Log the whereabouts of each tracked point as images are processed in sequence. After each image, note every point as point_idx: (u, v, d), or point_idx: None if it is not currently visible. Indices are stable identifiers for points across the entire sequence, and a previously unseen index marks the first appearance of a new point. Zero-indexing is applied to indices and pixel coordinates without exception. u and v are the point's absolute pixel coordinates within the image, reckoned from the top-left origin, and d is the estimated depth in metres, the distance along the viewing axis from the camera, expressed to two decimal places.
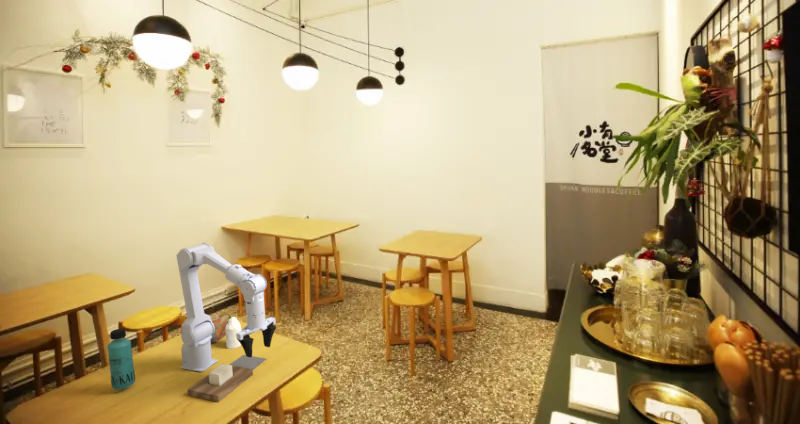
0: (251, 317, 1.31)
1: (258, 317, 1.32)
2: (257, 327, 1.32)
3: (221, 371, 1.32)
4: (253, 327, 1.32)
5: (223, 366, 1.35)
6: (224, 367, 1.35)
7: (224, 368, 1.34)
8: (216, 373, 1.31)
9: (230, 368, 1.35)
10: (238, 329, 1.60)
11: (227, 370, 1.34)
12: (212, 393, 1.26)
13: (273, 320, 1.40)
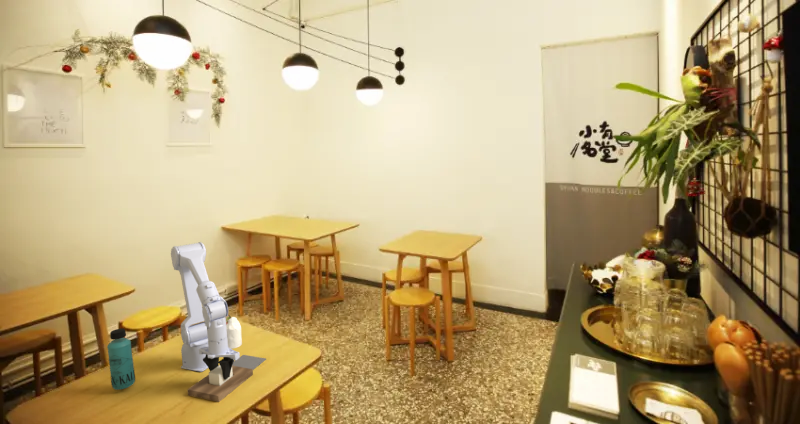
0: None
1: (208, 343, 1.30)
2: (209, 352, 1.31)
3: (221, 371, 1.32)
4: None
5: None
6: None
7: None
8: (216, 373, 1.31)
9: None
10: (238, 329, 1.60)
11: None
12: (212, 393, 1.26)
13: (232, 356, 1.30)
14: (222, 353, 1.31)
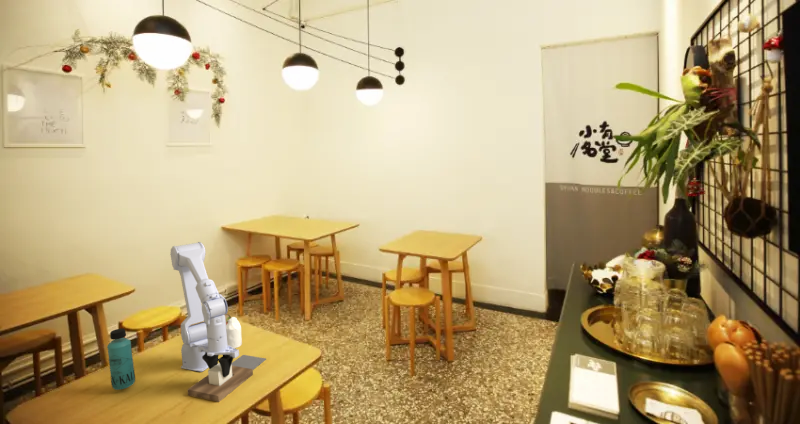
0: None
1: (208, 340, 1.30)
2: (208, 349, 1.31)
3: (220, 368, 1.32)
4: None
5: None
6: None
7: None
8: (215, 370, 1.31)
9: None
10: (238, 329, 1.60)
11: None
12: (212, 393, 1.26)
13: (231, 353, 1.30)
14: (221, 351, 1.30)
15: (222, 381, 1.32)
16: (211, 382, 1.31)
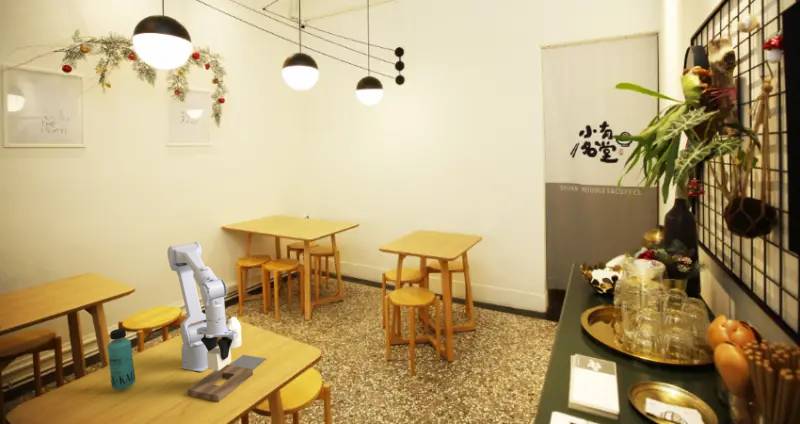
0: None
1: (207, 322, 1.29)
2: (207, 331, 1.30)
3: (219, 351, 1.31)
4: None
5: None
6: None
7: None
8: (214, 353, 1.30)
9: None
10: (238, 329, 1.60)
11: None
12: (212, 393, 1.26)
13: (230, 336, 1.29)
14: (220, 333, 1.30)
15: (221, 364, 1.31)
16: (210, 365, 1.31)
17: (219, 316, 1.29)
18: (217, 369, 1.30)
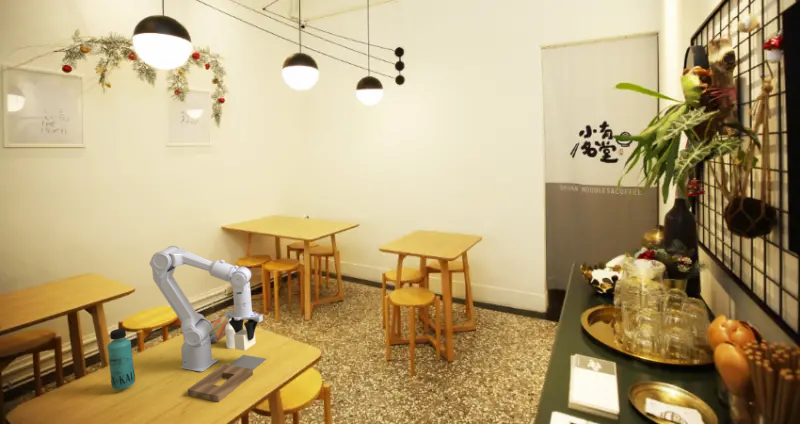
0: None
1: (235, 306, 1.43)
2: (235, 314, 1.43)
3: (245, 333, 1.44)
4: None
5: None
6: None
7: None
8: (241, 334, 1.43)
9: None
10: None
11: None
12: (212, 393, 1.26)
13: (256, 318, 1.42)
14: (247, 316, 1.43)
15: (247, 344, 1.44)
16: (237, 345, 1.44)
17: (250, 298, 1.45)
18: (243, 349, 1.43)
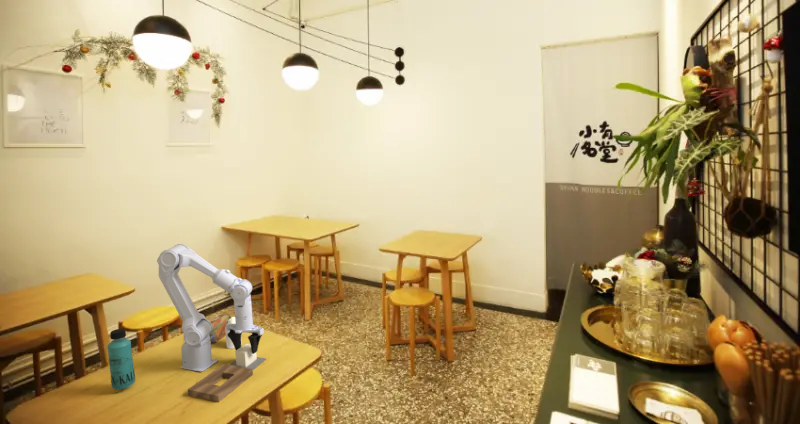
0: None
1: (236, 319, 1.43)
2: (236, 327, 1.44)
3: (246, 349, 1.45)
4: None
5: (248, 345, 1.48)
6: (249, 346, 1.48)
7: (248, 347, 1.47)
8: (242, 351, 1.44)
9: None
10: None
11: None
12: (212, 393, 1.26)
13: (257, 331, 1.43)
14: (248, 329, 1.44)
15: (248, 361, 1.45)
16: (238, 362, 1.45)
17: (251, 311, 1.45)
18: (245, 366, 1.44)
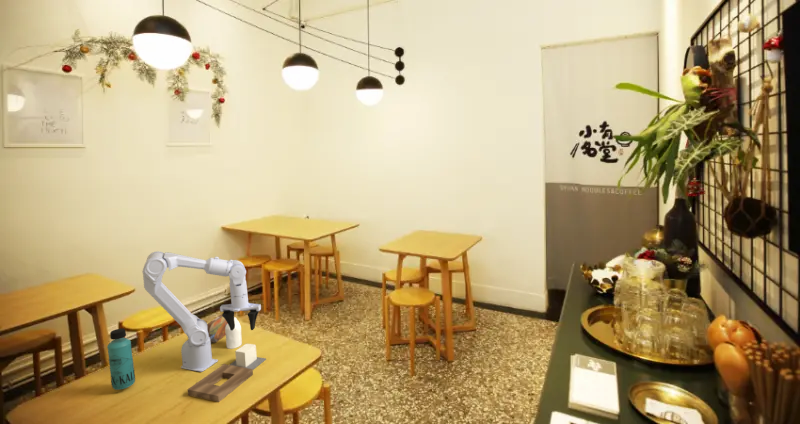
0: None
1: (233, 298, 1.47)
2: (233, 307, 1.48)
3: (246, 349, 1.45)
4: (231, 305, 1.49)
5: (248, 345, 1.48)
6: (249, 346, 1.48)
7: (248, 347, 1.47)
8: (242, 351, 1.44)
9: (254, 347, 1.48)
10: (238, 329, 1.60)
11: (251, 348, 1.47)
12: (212, 393, 1.26)
13: (255, 307, 1.49)
14: (245, 306, 1.49)
15: (248, 361, 1.45)
16: (238, 362, 1.45)
17: None
18: (245, 366, 1.44)
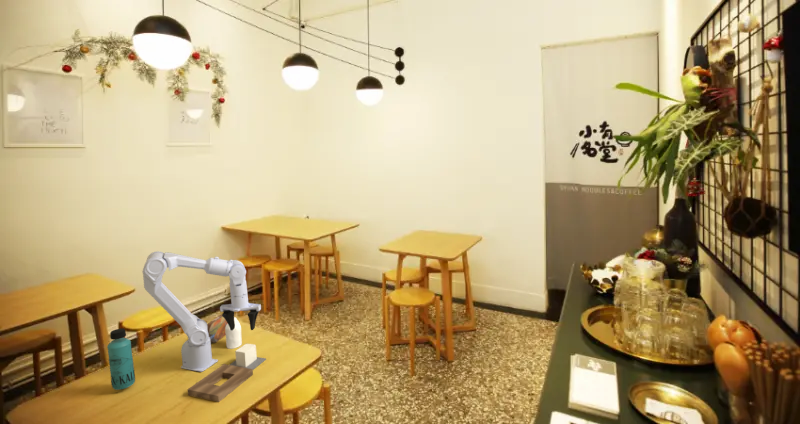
0: None
1: (233, 298, 1.47)
2: (233, 307, 1.48)
3: (246, 349, 1.45)
4: (231, 305, 1.49)
5: (248, 345, 1.48)
6: (249, 346, 1.48)
7: (248, 347, 1.47)
8: (242, 351, 1.44)
9: (254, 347, 1.48)
10: (238, 329, 1.60)
11: (251, 348, 1.47)
12: (212, 393, 1.26)
13: (255, 307, 1.49)
14: (245, 306, 1.49)
15: (248, 361, 1.45)
16: (238, 362, 1.45)
17: None
18: (245, 366, 1.44)
